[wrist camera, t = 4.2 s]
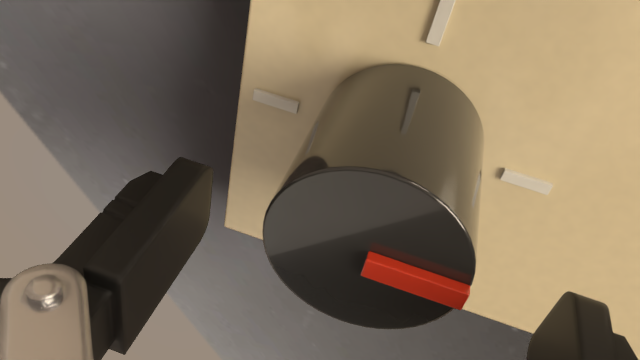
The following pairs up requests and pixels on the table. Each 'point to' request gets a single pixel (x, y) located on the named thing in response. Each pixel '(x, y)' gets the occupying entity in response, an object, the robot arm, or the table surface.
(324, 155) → the knob
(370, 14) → the panel
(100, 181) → the table surface
